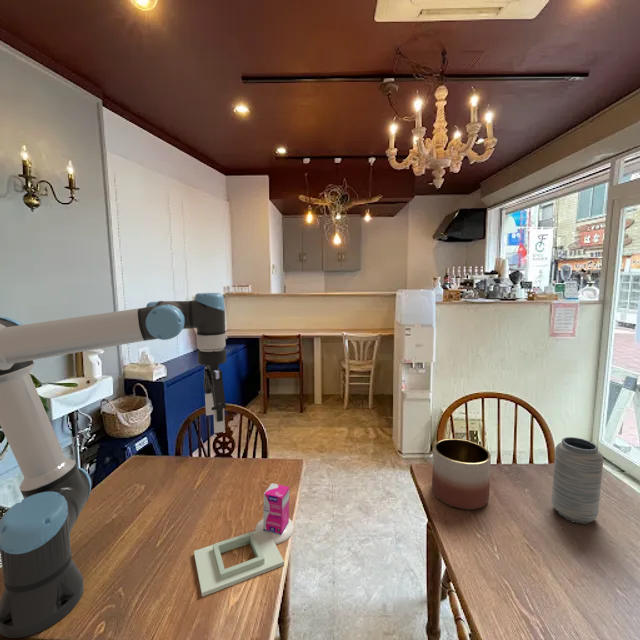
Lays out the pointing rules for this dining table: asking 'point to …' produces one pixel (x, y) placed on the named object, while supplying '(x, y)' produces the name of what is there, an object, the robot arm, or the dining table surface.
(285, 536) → the white egg-shaped stone
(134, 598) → the dining table surface
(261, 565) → the header board
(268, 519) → the supplement box
